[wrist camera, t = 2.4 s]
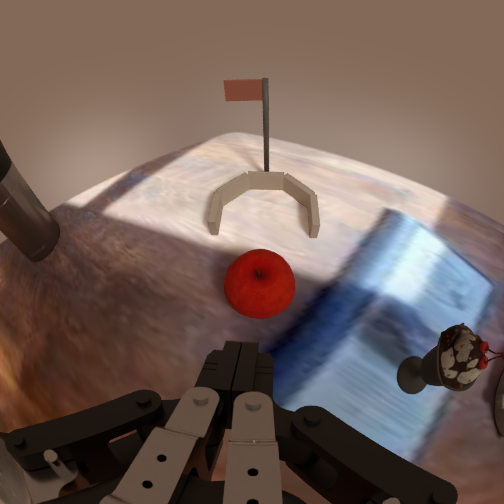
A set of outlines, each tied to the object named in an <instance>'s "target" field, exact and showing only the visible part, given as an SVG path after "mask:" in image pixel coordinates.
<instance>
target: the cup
mask: <svg viewBox="0 0 504 504" xmlns="http://www.w3.org/2000/svg"><path fill="white" fill-rule="evenodd" d="M224 89H225V99H226V101H249V100H251V101H252V100H263V133H264V172H252V171H248V174H247V173H243V174H241V175H240V176H238V177H236V178H235V179H233V180H231V181H230V182H228V183H226V184H225V185H223V186H221V187H220V188H218V189H217V190H216V192H214V195H213V200H212V204H211V209H210V214H209V219H208V224H209V228H210V232H211V235H218V234H219V228H220V222H221V216H222V210H223V206H224V205H226V204H228V203H229V202H231V201H232V200H234V199H235V198H237V197H238V196H240V195H241V194H243V193H245V192H246V191H248V190H249V189H262V190H283V191H285V192H286V193H288V194H289V195H290V196H292V197H293V198H294V199H296V200H297V201H298V202H300V203H301V204H302V205H304V206H305V207H306V208H308V217H309V231H310V238H317V236H318V232H319V228H320V219H319V210H318V201H317V195H315V192H314V191H313V190H311V189H310V188H308V187H307V186H306V185H304V184H303V183H301V182H300V181H298V180H297V179H295V178H294V177H292V176H291V175H289V174H288V173H287V174H286V175H284V172H269V96H268V78H262V79H247V80H246V79H245V80H224Z"/></svg>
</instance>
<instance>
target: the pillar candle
mask: <svg viewBox="0 0 504 504" xmlns="http://www.w3.org/2000/svg"><path fill="white" fill-rule="evenodd" d="M8 434H9V433H3V432H0V499H1V501H2V502H4V503H5V504H34V503H33V500H32V498H31V495H30V492H29V489H28V486H27V483H26V480H25V477H24V474H23V470H22V468H21V467H20V466H19V465H18V463H17V462H16V461H15V459H14V458H13V457H12V456H11V455H10V453H9V452H8V451H7V449H6V447H5V439H6V437H7V435H8ZM97 484H98V483H97ZM94 485H95V484H94ZM91 486H93V485H91ZM89 487H90V486H89Z"/></svg>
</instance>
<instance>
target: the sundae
mask: <svg viewBox="0 0 504 504" xmlns="http://www.w3.org/2000/svg"><path fill="white" fill-rule="evenodd" d="M487 351H490V352H492V353H494V354H502V356H497V357H494V358H491V359H489V360H488V358H487V357H486V356H485V353H487ZM499 357H502V358H503V359H504V352H502V353H495V352H493V351H491V350H490V349H489V345H488V343H487V342H484V341H482V339H481V338H480V336H478V335H476V334H474V333H473V332H472V330H471V329H469V328H468V327H467V326H465V325H464V323H462V324H460V325H455V326H452V327H450V328H448V329H447V330H445V331H443V332H441V336H440V338H439V341H438V345H437V346H436V347H434V348H433V349H432V350H431V351H429V352H428V353H427V354H426V355H425V357H424V358H423V359H421V358H419V357H409V358H407V359H406V360H405V361H403V363H402V364H401V365H400V367H399V370H398V376H397V379H398V383H399V386H400V388H401V389H402V390H403V391H404V392H406V393H408V394H416V393H419V392H421V391H422V390H423V389H424V388H425V386H426V385H427V384H429V385H433V386H444V387H446V388H448V389H450V390H453V391H465V390H467V389H469V388H470V387H471V386H472V385H473V384H474V382H475V381H476V379H477V378H478V376H479V374H480V372H481V370H483V369H485V368H486V367H487V365H488V362H489V361H491V360H493V359H495V358H499Z"/></svg>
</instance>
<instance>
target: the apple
mask: <svg viewBox="0 0 504 504" xmlns="http://www.w3.org/2000/svg"><path fill="white" fill-rule="evenodd" d="M224 291H225V295H226V298H227V300H228V302H229V304H230V305H231V306H232V307H233V308H234V309H235V310H236V311H237V312H239V313H240V314H242V315H244V316H247V317H250V318H259V319H264V318H268V317H272V316H275V315H277V314H279V313H280V312H282V311H284V310H285V309H286V308H287V307H288V306H289V305H290V303H291V301H292V299H293V296H294V293H295V279H294V275H293V272H292V270H291V268H290V266H289V264H288V263H287V262H286V261H285V260H284V258H283V257H281V256H280V255H278V254H277V253H275V252H272V251H269V250H265V249H255V250H251V251H249V252H247V253H245V254H243V255H241V256H239V257H238V258H237V259H236V260H235V261H234V262H233V263H232V264H231V265H230V266H229V268H228V270H227V273H226V276H225V279H224Z"/></svg>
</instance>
